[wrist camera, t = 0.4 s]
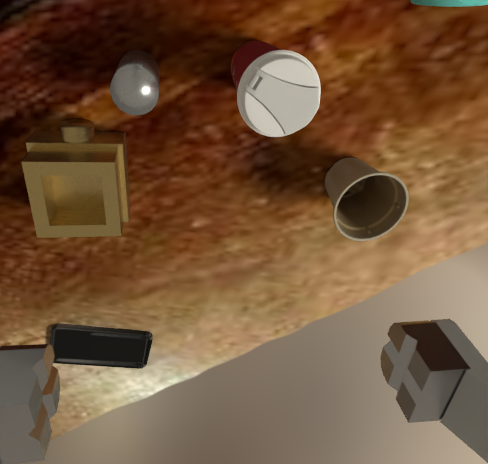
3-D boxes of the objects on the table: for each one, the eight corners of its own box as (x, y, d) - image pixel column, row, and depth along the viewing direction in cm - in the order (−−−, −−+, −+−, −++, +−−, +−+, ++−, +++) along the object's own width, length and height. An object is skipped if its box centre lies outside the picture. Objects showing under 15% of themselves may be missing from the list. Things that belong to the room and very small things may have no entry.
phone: (145, 368, 72) (48, 362, 68) (145, 363, 73) (50, 357, 69) (153, 334, 68) (51, 326, 64) (153, 329, 69) (53, 320, 65)
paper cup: (208, 78, 49) (222, 115, 38) (244, 14, 47) (271, 33, 35) (264, 112, 53) (292, 156, 41) (301, 55, 50) (343, 84, 38)
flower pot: (389, 184, 61) (419, 214, 54) (331, 219, 63) (353, 254, 55) (362, 131, 56) (392, 157, 49) (301, 172, 58) (320, 202, 50)
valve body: (32, 117, 49) (11, 142, 42) (124, 119, 50) (118, 144, 44) (51, 217, 55) (35, 252, 49) (131, 216, 57) (126, 250, 51)
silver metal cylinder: (117, 48, 46) (108, 66, 39) (158, 50, 47) (157, 68, 40) (120, 90, 49) (112, 114, 41) (160, 91, 49) (159, 115, 42)
